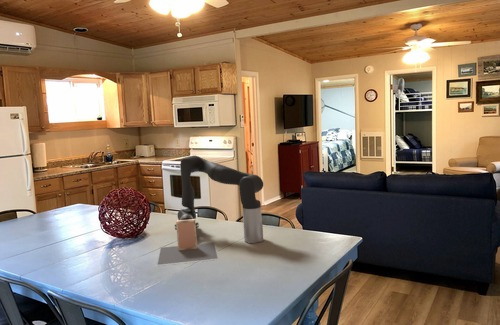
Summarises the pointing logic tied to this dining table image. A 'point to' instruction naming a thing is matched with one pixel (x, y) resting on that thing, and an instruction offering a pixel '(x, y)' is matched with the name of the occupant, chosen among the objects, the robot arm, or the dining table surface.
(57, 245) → the dining table surface
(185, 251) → the rubber mat
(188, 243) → the birch tile
